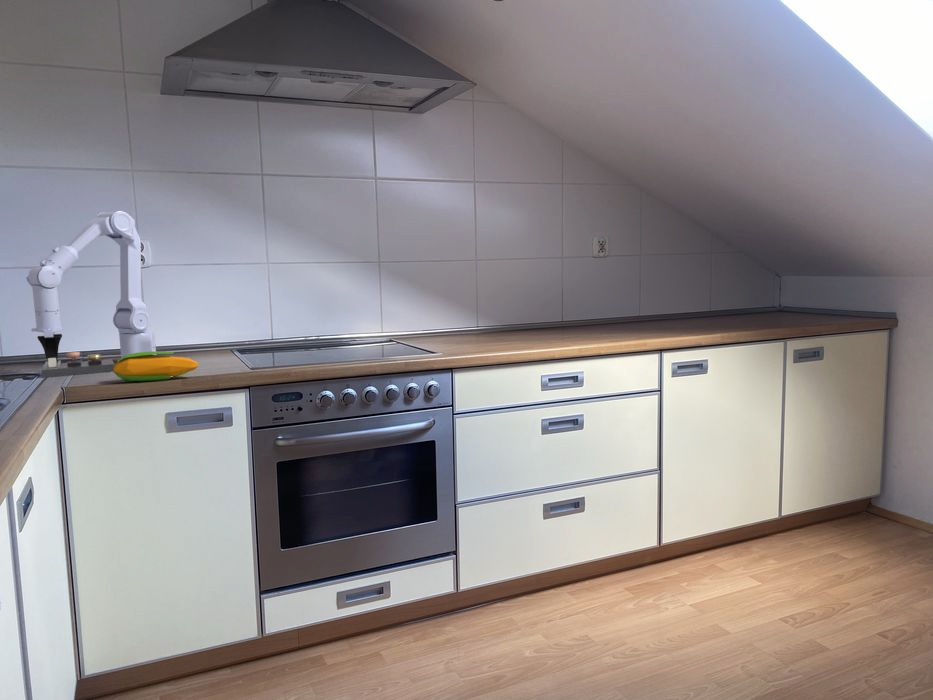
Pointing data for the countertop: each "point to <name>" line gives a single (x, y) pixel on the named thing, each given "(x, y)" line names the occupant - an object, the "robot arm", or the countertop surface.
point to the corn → (152, 366)
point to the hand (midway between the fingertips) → (52, 361)
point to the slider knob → (52, 362)
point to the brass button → (94, 357)
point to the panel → (77, 368)
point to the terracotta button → (73, 355)
